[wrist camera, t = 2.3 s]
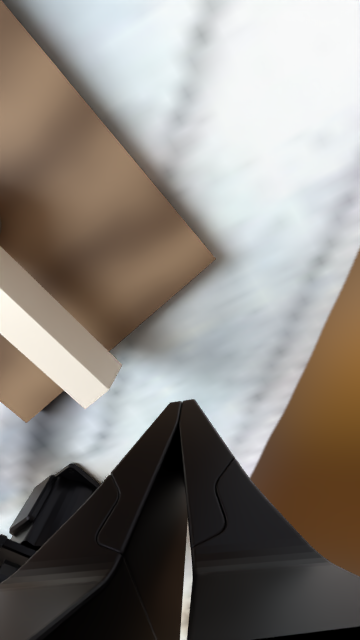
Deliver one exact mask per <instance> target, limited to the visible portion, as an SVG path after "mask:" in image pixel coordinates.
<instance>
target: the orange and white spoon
mask: <svg viewBox="0 0 360 640" xmlns="http://www.w3.org/2000/svg"><path fill="white" fill-rule="evenodd" d="M0 334H1V335H2V336H4V337H5V338H6V339H7V340H8V341H9V342H10V343H11V344H13V345H14V346H15V347H16V348H17V349H18V350H19V351H20V352H22V353H23V354H24V355H25V356H26V357H27V358H28V359H29V360H30V361H32V362H33V363H34V364H35V365H36V366H37V367H38V368H39V369H41V370H42V371H43V372H44V373H45V374H46V375H47V376H48V377H50V378H51V379H52V380H53V381H54V382H55V383H56V384H57V385H58V386H60V387H61V388H62V389H63V390H64V391H65V392H66V393H67V394H69V395H70V396H71V397H72V398H73V399H74V400H75V401H76V402H78V403H79V404H80V405H81V406H82V407H83V408H84V409H86V408H87V407H89V406H90V405H91V404H92V403H94V402H95V401H96V400H97V399H98V398H100V397H101V396H102V395H103V394H105V393H106V392H107V391H108V390H109V389H110V387H111V385H112V383H113V381H114V380H115V378H116V376H117V374H118V372H119V370H120V368H121V366H122V364H121V363H120V362H119V361H118V360H117V359H116V358H115V357H114V356H113V355H112V354H111V353H110V352H109V351H108V350H107V349H106V348H104V347H103V346H102V345H101V344H100V343H99V342H98V341H97V340H96V339H95V338H94V337H93V336H92V335H91V334H90V333H89V332H88V331H87V330H86V329H85V328H84V327H83V326H82V325H81V324H80V323H79V322H78V321H77V320H76V319H75V318H74V317H73V316H72V315H71V314H70V313H69V312H68V311H67V310H65V309H64V308H63V307H62V306H61V305H60V304H59V303H58V302H57V301H56V300H55V299H54V298H53V297H52V296H51V295H50V294H49V293H48V292H47V291H46V290H45V289H44V288H43V287H42V286H41V285H40V284H39V283H38V282H37V281H36V280H35V279H34V278H33V277H32V276H31V275H30V274H29V273H28V272H26V271H25V270H24V269H23V268H22V267H21V266H20V265H19V264H18V263H17V262H16V261H15V260H14V259H13V258H12V257H11V256H10V255H9V254H8V253H7V252H6V251H5V250H4V249H3V248H2V247H1V246H0Z"/></svg>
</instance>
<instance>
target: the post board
mask: <svg viewBox="0 0 360 640" xmlns="http://www.w3.org/2000/svg"><path fill="white" fill-rule="evenodd" d="M0 246H1V247H2V248H3V249H4V250H5V251H6V252H7V253H8V254H9V255H10V256H11V257H12V258H13V259H14V260H15V261H16V262H17V263H18V264H19V265H20V266H21V267H22V268H23V269H24V270H25V271H26V272H28V273H29V274H30V275H31V276H32V277H33V278H34V279H35V280H36V281H37V282H38V283H39V284H40V285H41V286H42V287H43V288H44V289H45V290H46V291H47V292H48V293H49V294H50V295H51V296H52V297H53V298H54V299H55V300H56V301H57V302H58V303H59V304H60V305H61V306H62V307H63V308H64V309H65V310H67V311H68V312H69V313H70V314H71V315H72V316H73V317H74V318H75V319H76V320H77V321H78V322H79V323H80V324H81V325H82V326H83V327H84V328H85V329H86V330H87V331H88V332H89V333H90V334H91V335H92V336H93V337H94V338H95V339H96V340H97V341H98V342H99V343H100V344H101V345H102V346H103V347H104V348H106V349H107V350H108V351H110V350H111V349H113V348H114V347H115V346H116V345H117V344H118V343H119V342H121V341H122V340H123V339H124V338H125V337H126V336H128V335H129V334H130V333H131V332H132V331H133V330H134V329H136V328H137V327H138V326H139V325H140V324H141V323H143V322H144V321H145V320H146V319H147V318H148V317H149V316H151V315H152V314H153V313H154V312H155V311H156V310H158V309H159V308H160V307H161V306H162V305H163V304H165V303H166V302H167V301H168V300H169V299H170V298H171V297H173V296H174V295H175V294H176V293H177V292H178V291H180V290H181V289H182V288H183V287H184V286H185V285H186V284H188V283H189V282H190V281H191V280H192V279H193V278H195V277H196V276H197V275H198V274H199V273H200V272H202V271H203V270H204V269H205V268H206V267H207V266H208V265H210V264H211V263H212V262H213V261H214V260H215V259H216V258H215V257H214V256H213V255H212V253H211V252H210V251H209V250H208V249H207V247H206V246H205V245H204V244H203V243H202V241H201V240H200V239H199V238H198V237H197V235H196V234H195V233H194V232H193V231H192V229H191V228H190V227H189V226H188V225H187V223H186V222H185V221H184V220H183V219H182V217H181V216H180V215H179V214H178V212H177V211H176V210H175V209H174V208H173V206H172V205H171V204H170V203H169V202H168V200H167V199H166V198H165V197H164V196H163V194H162V193H161V192H160V191H159V190H158V188H157V187H156V186H155V185H154V184H153V182H152V181H151V180H150V179H149V178H148V176H147V175H146V174H145V173H144V172H143V170H142V169H141V168H140V167H139V165H138V164H137V163H136V162H135V161H134V159H133V158H132V157H131V156H130V155H129V153H128V152H127V151H126V150H125V149H124V147H123V146H122V145H121V144H120V143H119V141H118V140H117V139H116V138H115V137H114V135H113V134H112V133H111V132H110V131H109V129H108V128H107V127H106V126H105V125H104V123H103V122H102V121H101V120H100V118H99V117H98V116H97V115H96V114H95V112H94V111H93V110H92V109H91V108H90V106H89V105H88V104H87V103H86V102H85V100H84V99H83V98H82V97H81V96H80V94H79V93H78V92H77V91H76V90H75V88H74V87H73V86H72V85H71V84H70V82H69V81H68V80H67V79H66V78H65V76H64V75H63V74H62V73H61V71H60V70H59V69H58V68H57V67H56V65H55V64H54V63H53V62H52V61H51V59H50V58H49V57H48V56H47V55H46V53H45V52H44V51H43V50H42V49H41V47H40V46H39V45H38V44H37V43H36V41H35V40H34V39H33V38H32V37H31V35H30V34H29V33H28V32H27V31H26V29H25V28H24V27H23V26H22V25H21V23H20V22H19V21H18V20H17V18H16V17H15V16H14V15H13V14H12V12H11V11H10V10H9V9H8V8H7V6H6V5H5V4H4V3H3V2H2V0H0ZM63 391H64V390H63V389H62V388H61V387H60V386H58V385H57V384H56V383H55V382H54V381H53V380H52V379H51V378H50V377H48V376H47V375H46V374H45V373H44V372H43V371H42V370H41V369H39V368H38V367H37V366H36V365H35V364H34V363H33V362H32V361H30V360H29V359H28V358H27V357H26V356H25V355H24V354H23V353H22V352H20V351H19V350H18V349H17V348H16V347H15V346H14V345H13V344H11V343H10V342H9V341H8V340H7V339H6V338H5V337H4V336H2V335H1V334H0V402H2V403H3V404H4V405H5V406H6V407H8V408H9V409H10V410H11V411H12V412H14V413H15V414H16V415H17V416H19V417H20V418H21V419H22V420H23V421H25V422H26V423H27V422H28V421H29V420H30V419H32V418H33V417H34V416H35V415H36V414H37V413H39V412H40V411H41V410H42V409H43V408H44V407H45V406H47V405H48V404H49V403H50V402H51V401H52V400H54V399H55V398H56V397H57V396H58V395H59V394H61V393H62V392H63Z"/></svg>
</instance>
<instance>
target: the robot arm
mask: <svg viewBox="0 0 360 640" xmlns="http://www.w3.org/2000/svg"><path fill="white" fill-rule="evenodd" d="M71 469H72V470H71ZM187 520H188V525H189V535H190V546H191V556H192V571H193V582H192V593H191V603H190V614H189V625H188V635H187V640H360V577H359V576H357V575H355V574H353V573H351V572H348V571H347V570H344V569H343V568H341V567H339V566H336V565H335V564H333V563H331V562H330V561H328V560H327V559H325V558H324V557H323V556H322V555H320V554H319V553H318V552H317V551H316V550H315V549H313V548H312V547H311V546H310V545H309V543H308V542H307V541H306V540H305V539H304V538H303V537H302V536H301V535H300V534H299V533H298V532H297V531H296V530H295V529H294V528H293V526H292V525H291V524H290V523H289V522H288V521H287V520H286V519H285V518H284V517H283V516H282V515H281V513H280V512H279V511H278V510H277V509H276V508H275V507H274V506H273V505H272V504H271V503H270V502H269V500H268V499H267V498H266V497H265V496H264V495H263V494H262V493H261V491H260V490H259V489H258V488H257V487H256V486H255V484H254V483H253V482H252V481H251V479H250V478H249V477H248V475H247V474H246V473H245V471H244V470H243V469H242V467H241V466H240V464H239V463H238V461H237V460H236V459H235V457H234V456H233V454H232V453H231V452H230V450H229V449H228V447H227V446H226V444H225V443H224V441H223V440H222V438H221V437H220V435H219V434H218V433H217V431H216V430H215V428H214V427H213V425H212V424H211V422H210V421H209V419H208V418H207V417H206V415H205V414H204V412H203V411H202V409H201V408H200V406H199V405H198V403H197V402H196V401H195V400H194V399H191V400H185V401H183V402H181V401H178V402H171V403H170V404H169V405H168V406H167V407H166V408H165V409H164V410H163V412H162V413H161V414H160V415H159V416H158V418H157V419H156V420H155V421H154V422H153V423H152V425H151V426H150V427H149V428H148V429H147V431H146V432H145V433H144V434H143V435H142V437H141V438H140V439H139V440H138V441H137V442H136V444H135V445H134V446H133V447H132V448H131V450H130V451H129V452H128V453H127V454H126V455H125V457H124V458H123V459H122V460H121V461H120V463H119V464H118V465H117V466H116V467H115V468H114V470H113V471H112V472H111V475H108V477H107V478H106V479H105V480H104V481H103V483H102V484H101V485H99V484H98V483H97V482H96V481H95V480H93V479H92V478H91V477H90V476H89V475H87V474H86V473H85V472H84V471H82V470H81V469H80V468H79V467H78V466H76V465H75V464H69V465H68V466H66V467H65V468H64V469H62V470H61V471H60V472H58V473H57V474H56V475H51V476H49V477H48V478H47V479H45V480H44V481H43V482H41V483H40V484H39V485H38V486H36V487H35V488H34V490H33V492H32V493H31V495H30V496H29V498H28V500H27V501H26V503H25V505H24V506H23V508H22V509H21V511H20V513H19V514H18V516H17V517H16V519H15V521H14V522H13V524H12V526H11V527H10V534H12V535H13V536H12V538H11V539H8V538H7V536H5V535H2V534H1V535H0V640H180V627H181V612H182V597H183V582H184V566H185V551H186V536H187Z"/></svg>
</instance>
